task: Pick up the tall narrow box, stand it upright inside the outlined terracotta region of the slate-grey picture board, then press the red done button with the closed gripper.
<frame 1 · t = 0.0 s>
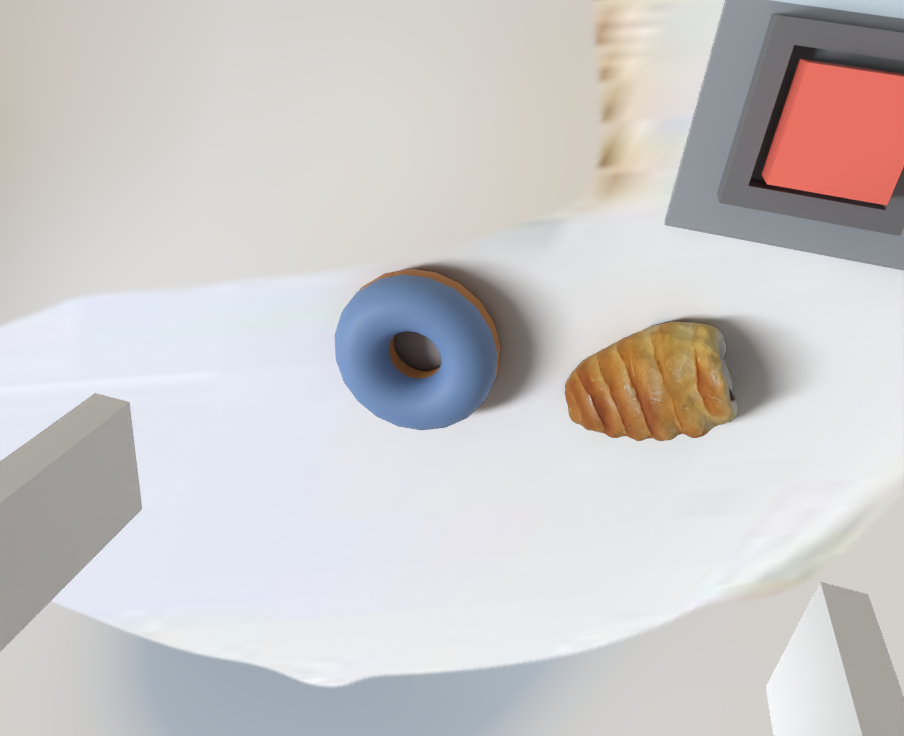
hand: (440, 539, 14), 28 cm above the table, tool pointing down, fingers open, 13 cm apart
done button: (843, 131, 31), point 3 cm above the table, slide at 0.0 cm
doughnut: (426, 336, 44), on the table
pastry: (659, 374, 42), on the table
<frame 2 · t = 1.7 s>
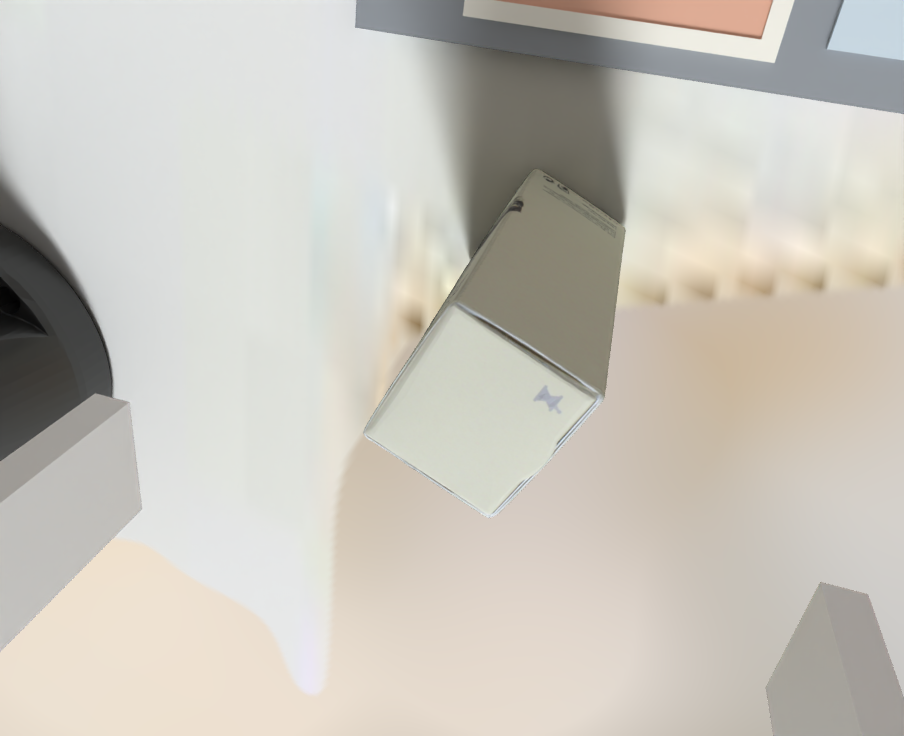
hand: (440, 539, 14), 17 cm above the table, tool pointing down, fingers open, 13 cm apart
box: (544, 248, 29), on the table
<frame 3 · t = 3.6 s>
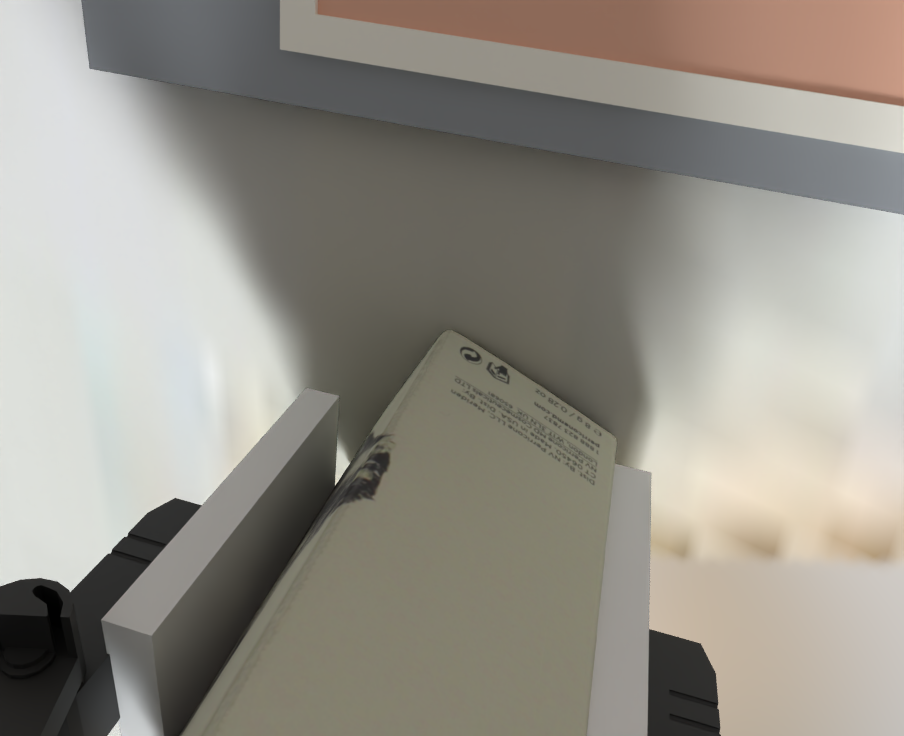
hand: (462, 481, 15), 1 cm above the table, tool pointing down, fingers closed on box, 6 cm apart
box: (473, 453, 16), on the table, touching gripper
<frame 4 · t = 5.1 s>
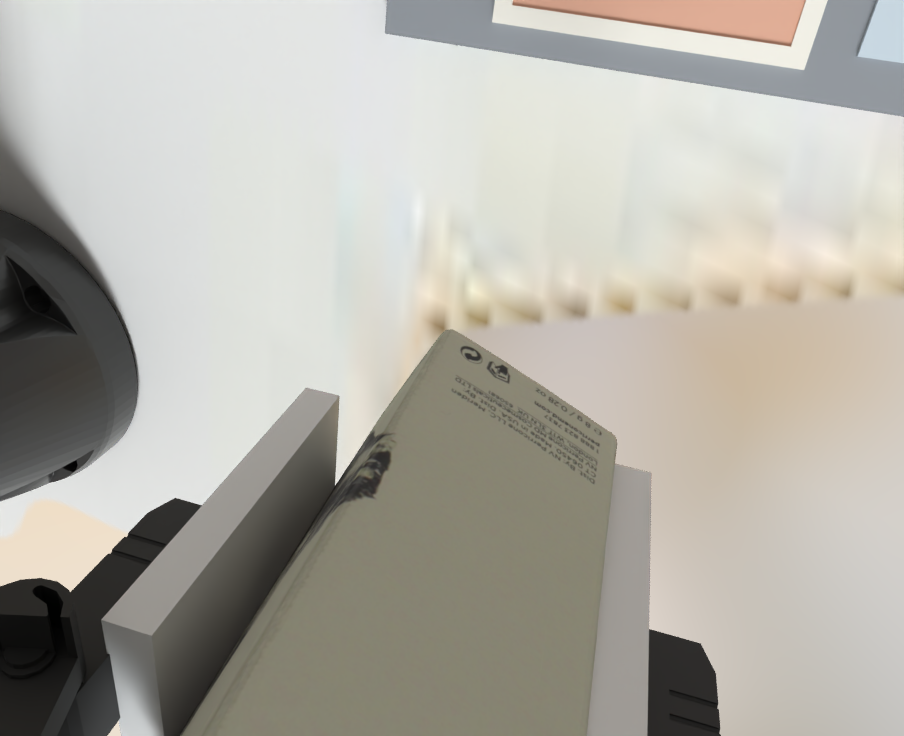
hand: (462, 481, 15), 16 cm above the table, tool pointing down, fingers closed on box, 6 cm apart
box: (474, 452, 16), point 15 cm above the table, touching gripper
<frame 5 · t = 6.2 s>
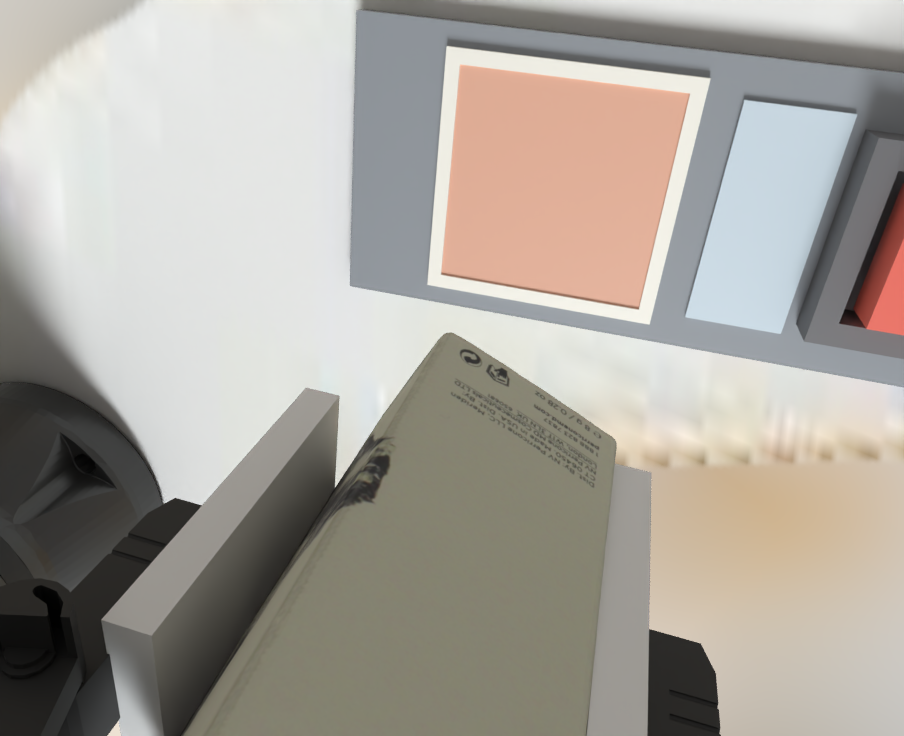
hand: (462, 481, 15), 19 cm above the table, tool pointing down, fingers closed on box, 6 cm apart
picture board: (698, 208, 30), on the table
box: (473, 455, 16), point 18 cm above the table, touching gripper
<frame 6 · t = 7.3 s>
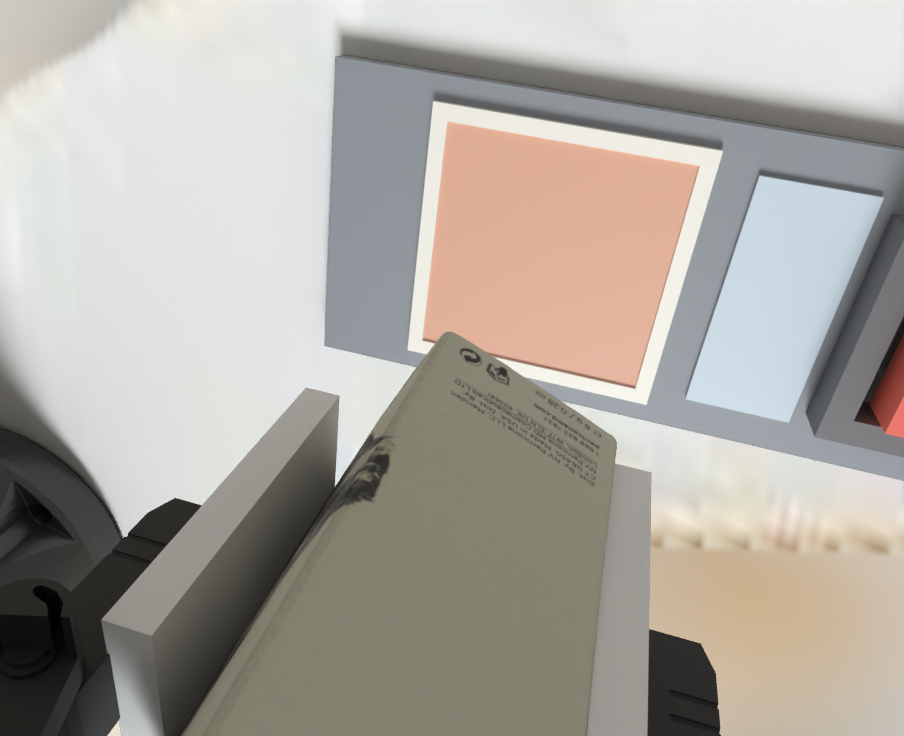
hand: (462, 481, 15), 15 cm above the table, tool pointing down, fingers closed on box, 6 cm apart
picture board: (704, 284, 27), on the table
box: (473, 454, 16), point 14 cm above the table, touching gripper
when the fingers open (3 cm above the table, at t = 9.6 s): box drops 1 cm, resting on picture board.
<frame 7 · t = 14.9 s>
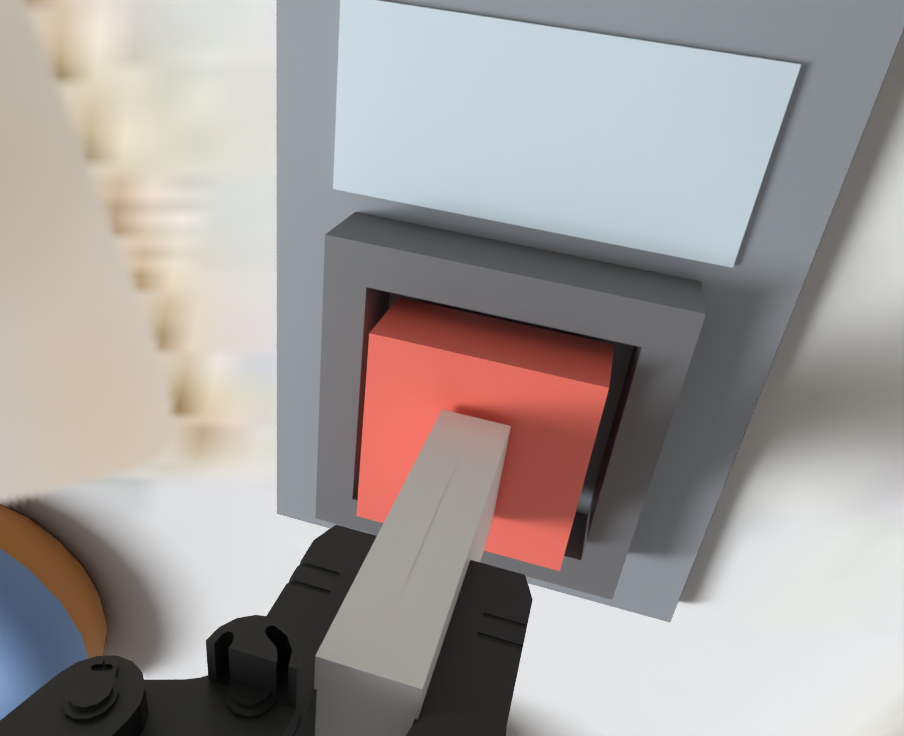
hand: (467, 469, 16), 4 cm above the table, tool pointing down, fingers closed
done button: (479, 434, 17), point 3 cm above the table, slide at 0.3 cm, touching gripper
doughnut: (18, 573, 29), on the table
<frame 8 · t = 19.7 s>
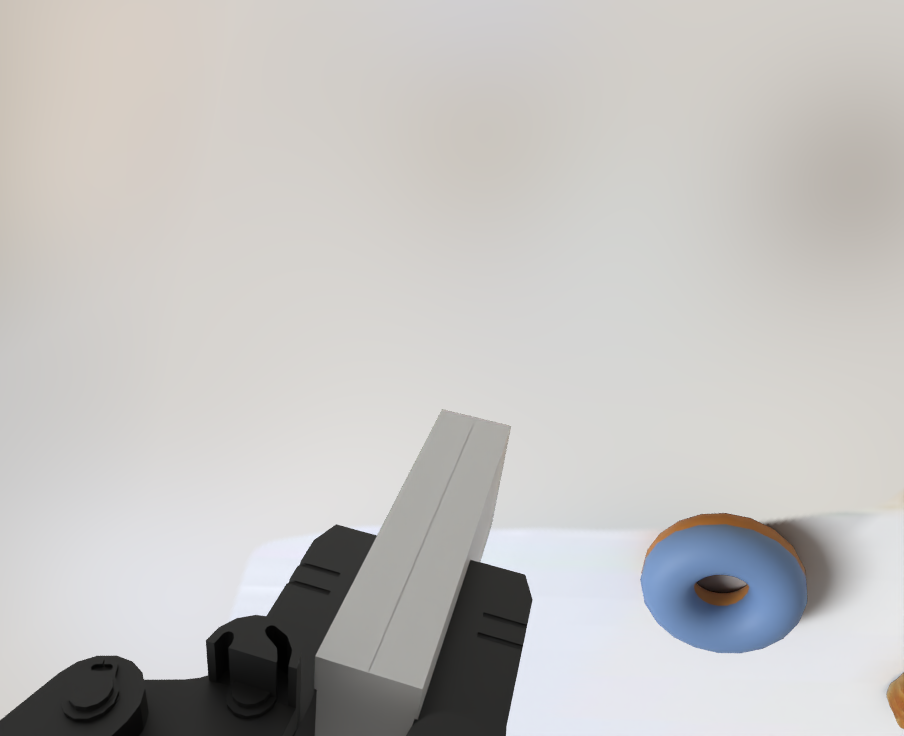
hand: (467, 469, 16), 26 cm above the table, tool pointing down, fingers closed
doughnut: (719, 561, 48), on the table
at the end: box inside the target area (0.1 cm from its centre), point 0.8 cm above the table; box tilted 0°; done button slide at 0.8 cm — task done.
